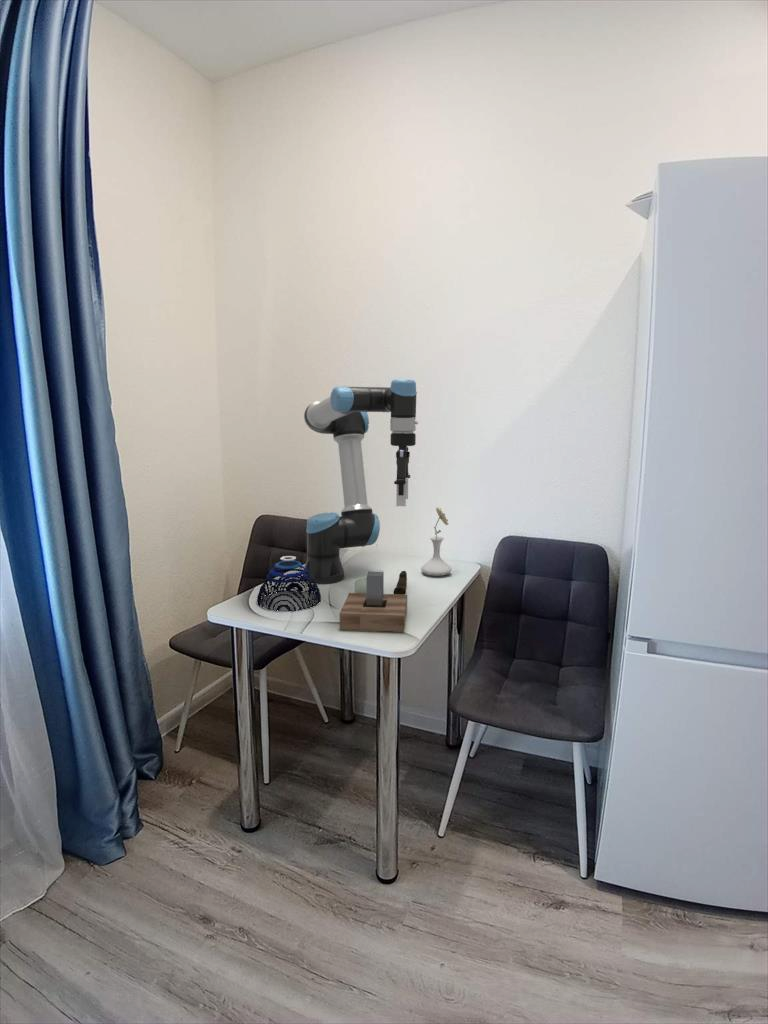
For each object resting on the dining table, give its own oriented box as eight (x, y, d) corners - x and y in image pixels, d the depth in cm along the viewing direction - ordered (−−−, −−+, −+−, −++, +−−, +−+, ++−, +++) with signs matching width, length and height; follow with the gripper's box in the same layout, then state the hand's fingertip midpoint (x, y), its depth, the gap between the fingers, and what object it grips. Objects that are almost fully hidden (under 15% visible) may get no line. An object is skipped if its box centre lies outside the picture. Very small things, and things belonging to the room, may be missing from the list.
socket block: (349, 608, 177) (349, 592, 176) (407, 610, 176) (407, 594, 175) (339, 630, 159) (339, 613, 159) (404, 632, 158) (404, 615, 157)
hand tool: (405, 599, 186) (405, 585, 186) (393, 598, 187) (393, 584, 186) (411, 582, 205) (412, 569, 204) (400, 581, 205) (400, 569, 205)
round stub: (356, 597, 187) (356, 577, 186) (381, 598, 186) (381, 578, 185) (353, 606, 179) (353, 584, 178) (378, 607, 178) (378, 585, 177)
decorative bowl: (324, 591, 194) (323, 550, 191) (316, 612, 174) (315, 566, 171) (265, 591, 194) (264, 549, 191) (251, 611, 174) (249, 566, 172)
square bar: (368, 616, 170) (368, 571, 167) (383, 617, 170) (383, 571, 167) (366, 622, 166) (366, 575, 163) (381, 622, 165) (382, 576, 163)
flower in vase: (450, 579, 208) (452, 511, 203) (419, 577, 210) (420, 510, 205) (452, 569, 220) (453, 505, 216) (422, 567, 222) (423, 504, 218)
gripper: (414, 434, 158) (413, 509, 162) (417, 430, 183) (416, 496, 187) (387, 434, 159) (386, 509, 163) (393, 430, 183) (393, 496, 187)
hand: (402, 502), depth 175 cm, fingers open, 13 cm apart
